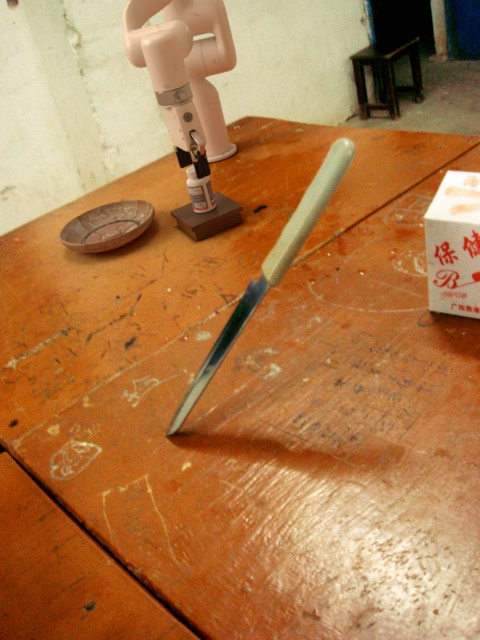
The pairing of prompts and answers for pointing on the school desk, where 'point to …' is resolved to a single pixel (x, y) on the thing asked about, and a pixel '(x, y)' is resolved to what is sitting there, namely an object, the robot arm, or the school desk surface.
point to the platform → (208, 217)
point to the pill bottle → (200, 192)
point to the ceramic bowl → (107, 226)
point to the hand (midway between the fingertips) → (195, 171)
